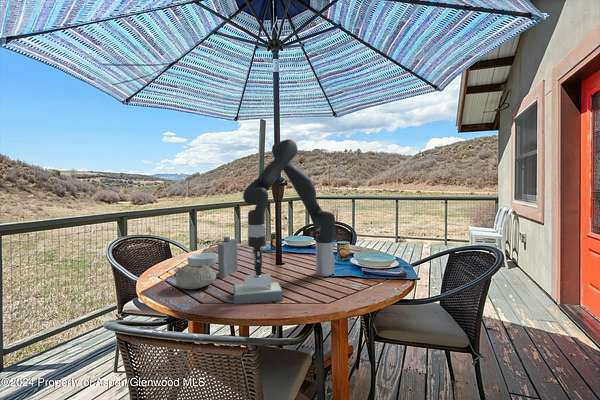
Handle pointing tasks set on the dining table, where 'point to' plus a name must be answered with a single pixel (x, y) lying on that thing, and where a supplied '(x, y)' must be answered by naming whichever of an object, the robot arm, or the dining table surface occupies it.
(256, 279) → the housing
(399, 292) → the dining table surface
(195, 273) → the beige squat rounded piece
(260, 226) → the robot arm
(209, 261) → the cereal bowl
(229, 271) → the hip flask
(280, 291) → the stand
